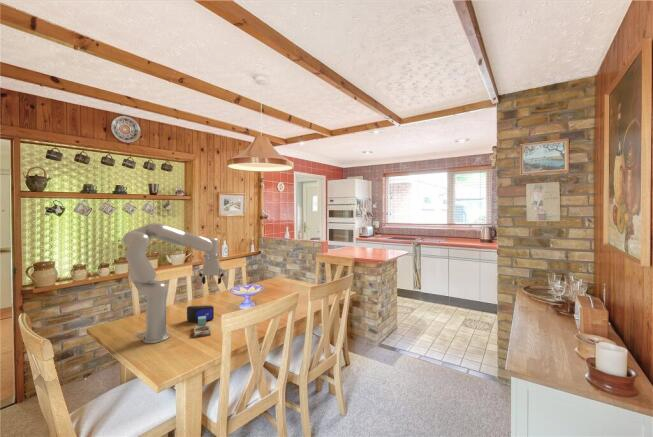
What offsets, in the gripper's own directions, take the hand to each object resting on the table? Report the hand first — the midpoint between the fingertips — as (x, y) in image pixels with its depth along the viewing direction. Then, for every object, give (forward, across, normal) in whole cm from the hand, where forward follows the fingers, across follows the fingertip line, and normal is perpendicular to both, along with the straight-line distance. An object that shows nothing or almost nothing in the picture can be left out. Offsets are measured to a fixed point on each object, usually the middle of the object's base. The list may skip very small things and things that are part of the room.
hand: (211, 283), depth 186 cm
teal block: (+23, -1, -12) cm, 26 cm away
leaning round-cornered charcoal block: (+24, -6, -1) cm, 24 cm away
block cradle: (+23, +2, -21) cm, 31 cm away
